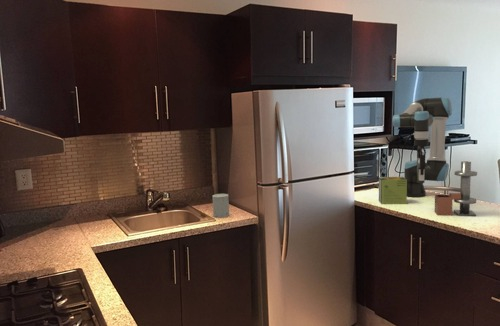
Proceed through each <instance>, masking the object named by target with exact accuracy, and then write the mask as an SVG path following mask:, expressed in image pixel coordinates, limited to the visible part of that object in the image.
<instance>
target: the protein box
mask: <svg viewBox="0 0 500 326" xmlns="http://www.w3.org/2000/svg"><path fill="white" fill-rule="evenodd" d="M407 197H408V196H407V179H406V178H404V176H382V177H381V176H378V201H379V203H380V205H407V204H408V203H407V202H408V199H407Z"/></svg>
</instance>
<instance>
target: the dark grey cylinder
mask: <svg viewBox="0 0 500 326" xmlns="http://www.w3.org/2000/svg"><path fill="white" fill-rule="evenodd" d="M416 160H417V183H423V184H424V183H425V181H426V180H425V169H424V181H419V169H418V168H420V165H419V158H417V157H416Z"/></svg>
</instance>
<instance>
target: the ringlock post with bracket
mask: <svg viewBox="0 0 500 326" xmlns="http://www.w3.org/2000/svg"><path fill="white" fill-rule="evenodd" d="M454 175H455V176H456V177H457V176H458V177H460V184H459V185H460V187H459V189H460V190H459V191H460V192H449V193H448V194H434V213H435V214H436V215H437V216H453V213H454V214H455V215H457V217H476V216H477V214H476V213H475V212H474V211H473V210H471V209H470V208H471V206H470V205H473V204H476V203H477V198H474V197H471V177H477V176H478V171H474V170H472V161H470V160H469V161H460V170H454ZM453 202H454V203H456V204H459V209H453Z"/></svg>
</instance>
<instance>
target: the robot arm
mask: <svg viewBox="0 0 500 326" xmlns="http://www.w3.org/2000/svg"><path fill="white" fill-rule="evenodd" d="M452 111H453V109H452V102H451V99H450V98H449V97H430V98H421V99H417V100H416V101H413V102H411V103H410V104H409V106H408V107H407V108H406V109H405V110H404V111H403V112H402V113H401V114H393V116H392V120H391V121H392V126H393V127H394V128H414V131H413V133H412V135H413V138H414V139H413V145H414V147H417V148H416V159H415V160H408V161H406V162H405V163H404V169H403V170H404V176H403V177H404V178H406V179H407V197H408V198H409V197H410V198H423V197H426V195H427V194H426V189H425V186H424V183H417V158H419V165H420V168H418V169H419V181H424V169H425V181H431V182H432V181H433V182H445V181H446V180H447V178H448V174H449V169H450V165H449V163H447V159H446V158H445V148H446V146H445V145H446V143H445V142H446V128H447V121H448V120H449V119H450V117H451V116H452V114H453V112H452ZM430 126H431V128H429V127H430ZM429 129H430V130H429ZM429 135H430V137H429ZM429 138H430V140H429ZM428 146H430V147H429V158H427V159H426V153H427V152H426V149H425V147H428Z"/></svg>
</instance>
